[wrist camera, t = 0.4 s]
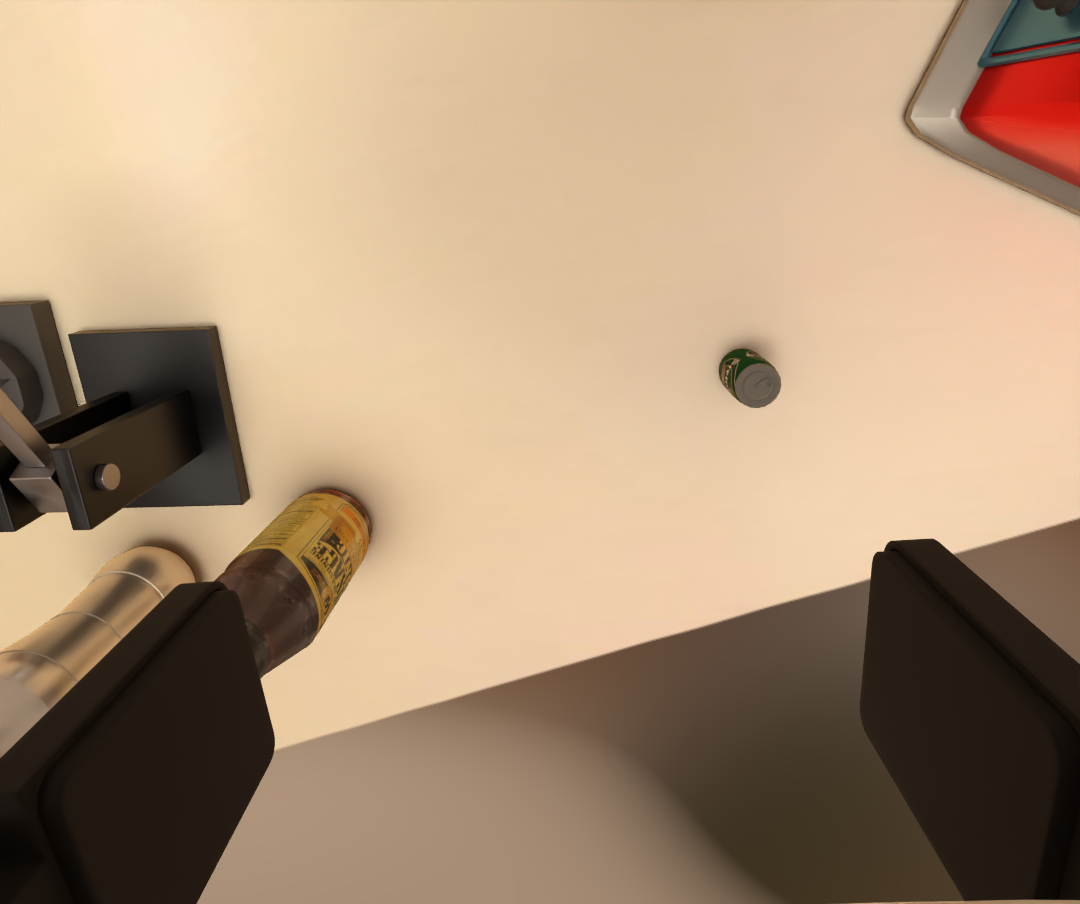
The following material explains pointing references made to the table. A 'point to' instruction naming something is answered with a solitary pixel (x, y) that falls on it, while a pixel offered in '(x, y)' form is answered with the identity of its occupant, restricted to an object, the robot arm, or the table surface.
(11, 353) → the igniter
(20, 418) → the lever
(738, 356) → the beer can
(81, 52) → the table surface
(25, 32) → the table surface
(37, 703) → the plastic bottle
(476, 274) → the table surface
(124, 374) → the bracket
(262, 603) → the sauce bottle
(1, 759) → the robot arm
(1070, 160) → the toaster
